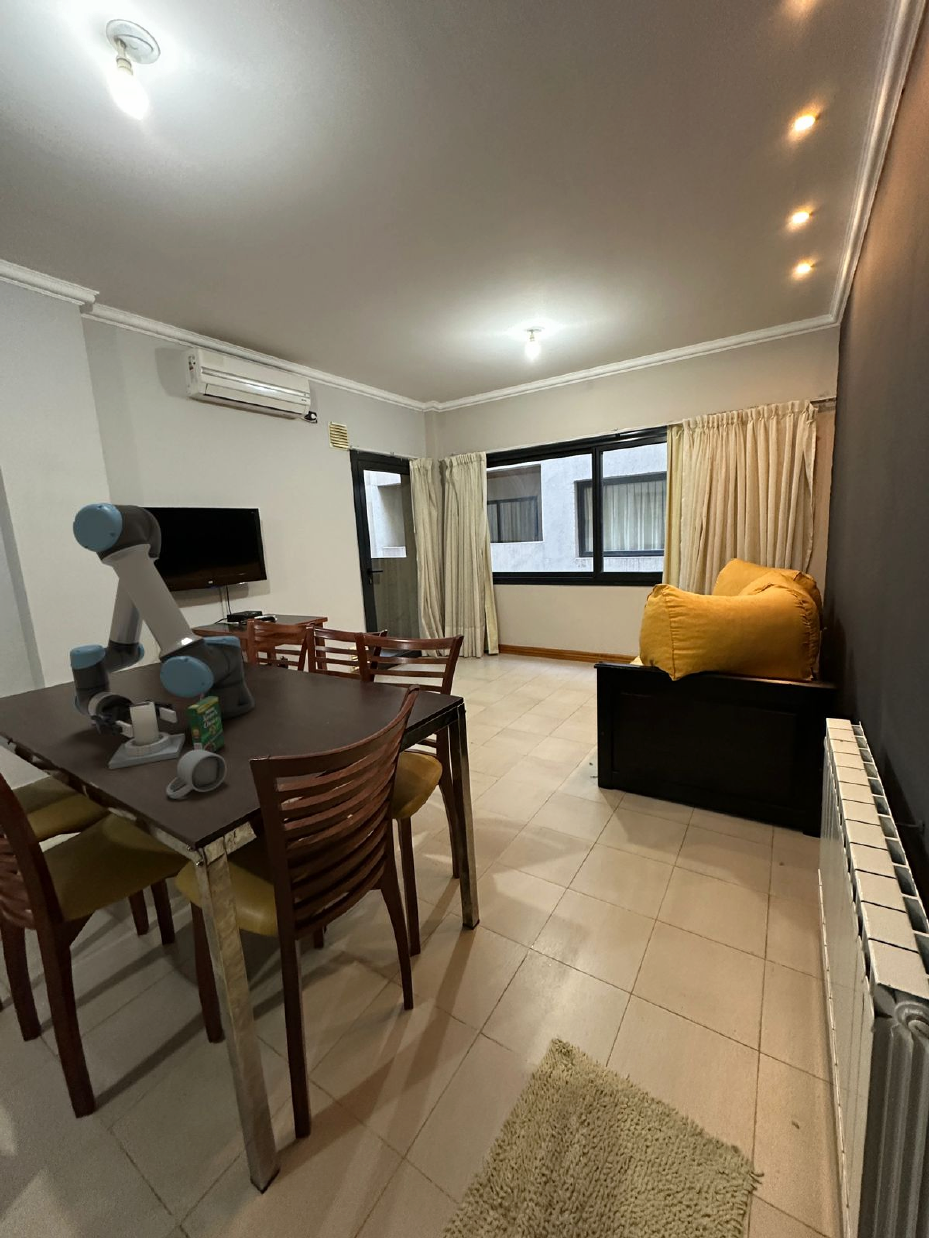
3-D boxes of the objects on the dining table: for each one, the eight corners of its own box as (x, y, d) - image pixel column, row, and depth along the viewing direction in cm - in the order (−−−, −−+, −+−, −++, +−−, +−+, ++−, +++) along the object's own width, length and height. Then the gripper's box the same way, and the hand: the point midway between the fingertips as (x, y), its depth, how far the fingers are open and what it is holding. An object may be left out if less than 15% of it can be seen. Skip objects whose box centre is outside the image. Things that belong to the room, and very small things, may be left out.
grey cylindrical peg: (162, 741, 125) (155, 698, 123) (158, 749, 121) (151, 705, 118) (139, 745, 123) (132, 702, 121) (134, 753, 119) (126, 708, 117)
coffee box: (204, 759, 118) (197, 707, 115) (193, 759, 118) (186, 707, 116) (225, 744, 125) (219, 695, 123) (215, 744, 126) (208, 695, 123)
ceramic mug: (210, 772, 111) (205, 740, 110) (229, 782, 106) (224, 749, 105) (160, 794, 103) (154, 760, 101) (178, 805, 98) (171, 770, 96)
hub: (185, 738, 130) (183, 726, 130) (178, 757, 119) (176, 743, 119) (122, 748, 125) (120, 736, 124) (109, 769, 114) (106, 755, 113)
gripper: (157, 708, 140) (200, 723, 128) (64, 736, 122) (104, 757, 110) (153, 683, 139) (196, 695, 126) (58, 708, 121) (98, 725, 108)
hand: (153, 724), depth 118 cm, fingers open, 9 cm apart
